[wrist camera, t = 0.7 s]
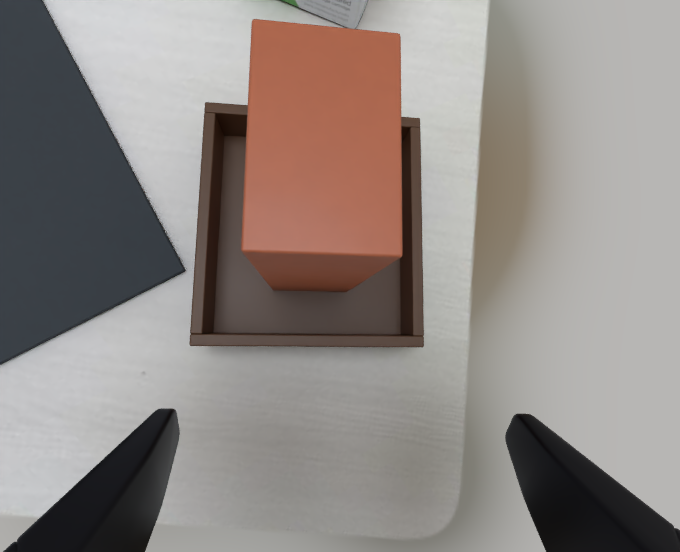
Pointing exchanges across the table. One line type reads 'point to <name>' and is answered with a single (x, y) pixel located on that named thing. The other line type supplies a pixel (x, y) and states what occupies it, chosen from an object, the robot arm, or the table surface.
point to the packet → (322, 155)
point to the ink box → (334, 10)
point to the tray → (294, 306)
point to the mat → (63, 194)
